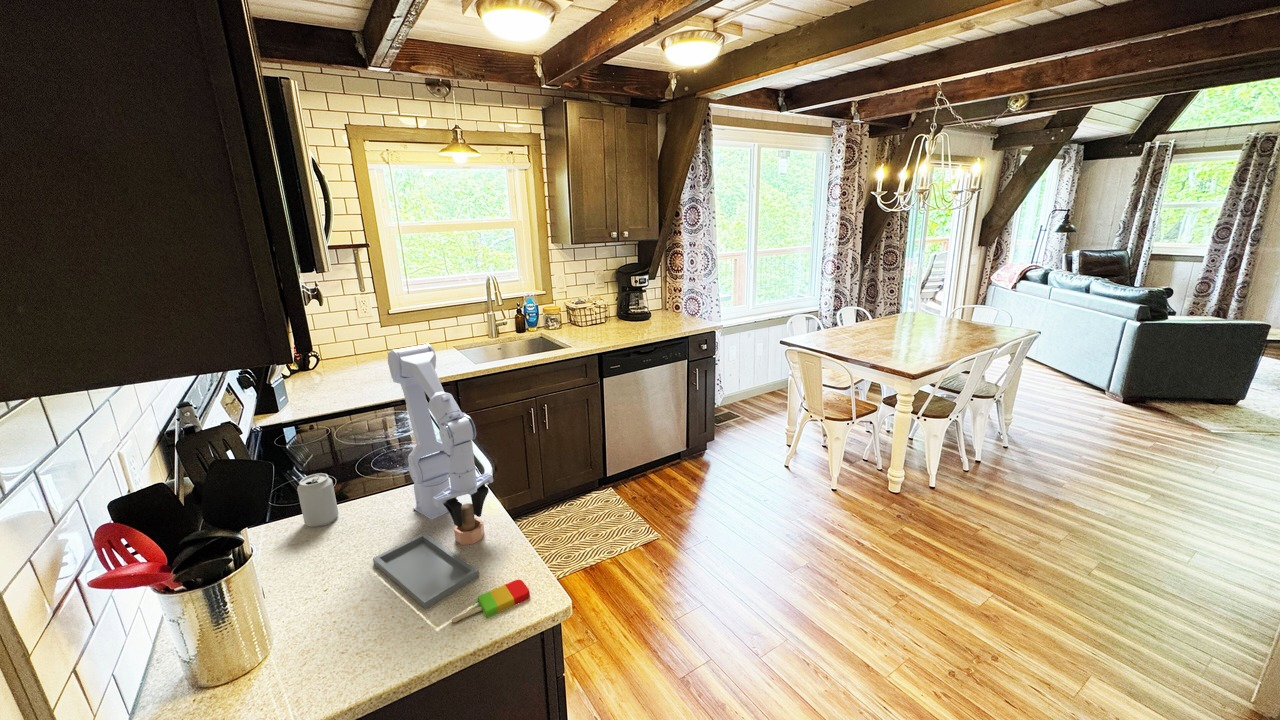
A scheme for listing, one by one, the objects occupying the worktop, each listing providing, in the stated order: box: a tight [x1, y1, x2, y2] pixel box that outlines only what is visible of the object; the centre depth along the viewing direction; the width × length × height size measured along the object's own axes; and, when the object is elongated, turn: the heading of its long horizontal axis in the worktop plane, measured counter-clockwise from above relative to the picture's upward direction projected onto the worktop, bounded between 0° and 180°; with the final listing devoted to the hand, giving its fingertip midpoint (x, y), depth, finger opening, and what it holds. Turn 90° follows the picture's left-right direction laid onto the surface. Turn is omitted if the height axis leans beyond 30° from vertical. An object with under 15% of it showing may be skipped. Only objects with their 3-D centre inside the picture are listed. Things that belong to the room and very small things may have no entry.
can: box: [296, 472, 339, 528], centre depth 128 cm, size 8×8×12 cm
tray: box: [372, 532, 480, 610], centre depth 109 cm, size 22×12×2 cm, turn 51°
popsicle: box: [451, 579, 531, 624], centre depth 99 cm, size 6×15×2 cm, turn 125°
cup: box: [453, 517, 485, 546], centre depth 120 cm, size 6×6×4 cm
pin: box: [461, 503, 476, 532], centre depth 120 cm, size 3×3×8 cm
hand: (468, 520), depth 120 cm, fingers open, 5 cm apart
